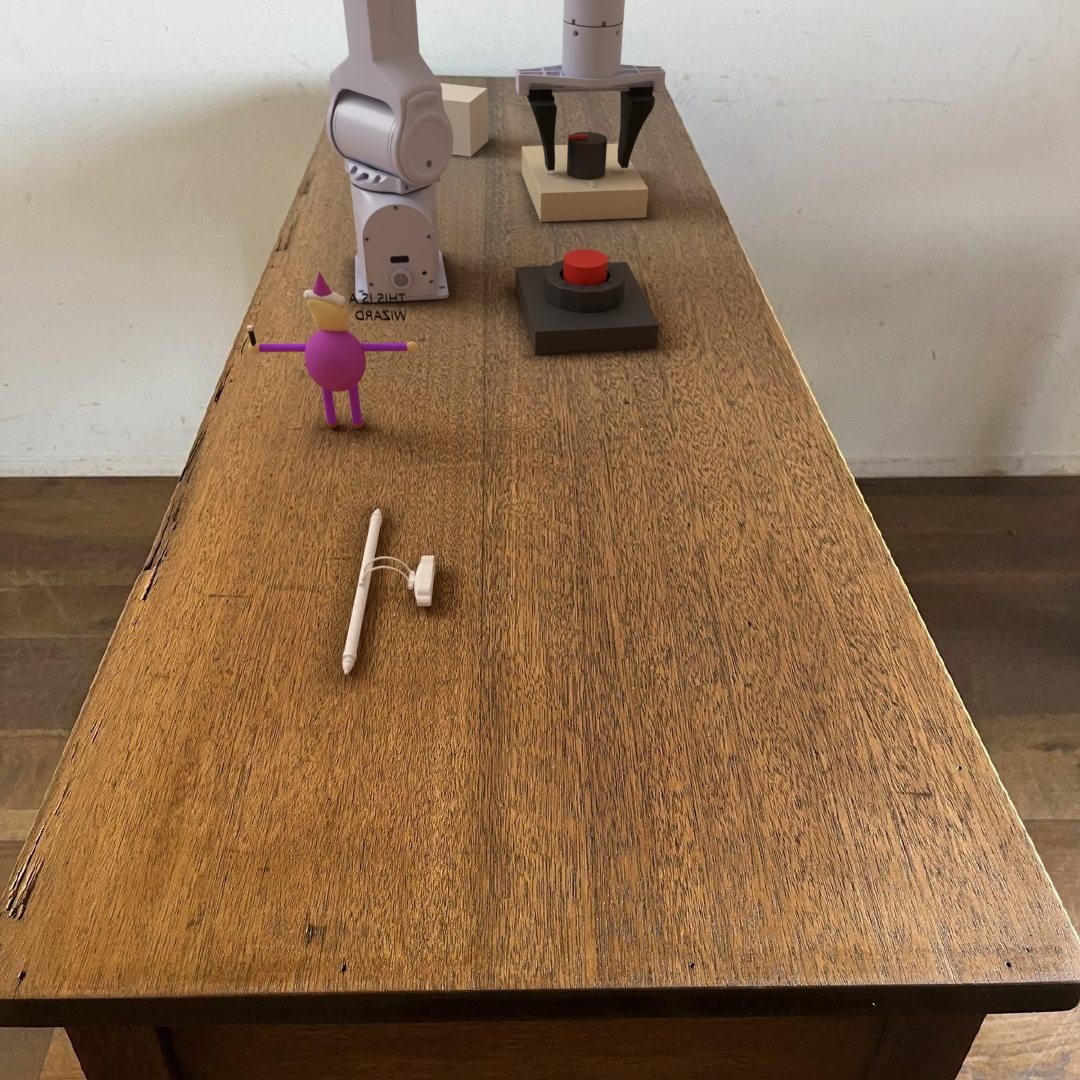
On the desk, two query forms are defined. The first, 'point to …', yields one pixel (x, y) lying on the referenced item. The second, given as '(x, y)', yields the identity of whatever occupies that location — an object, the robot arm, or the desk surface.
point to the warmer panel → (583, 188)
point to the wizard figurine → (336, 347)
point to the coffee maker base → (584, 311)
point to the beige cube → (466, 117)
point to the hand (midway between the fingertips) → (586, 166)
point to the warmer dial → (586, 155)
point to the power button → (585, 267)
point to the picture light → (420, 582)
